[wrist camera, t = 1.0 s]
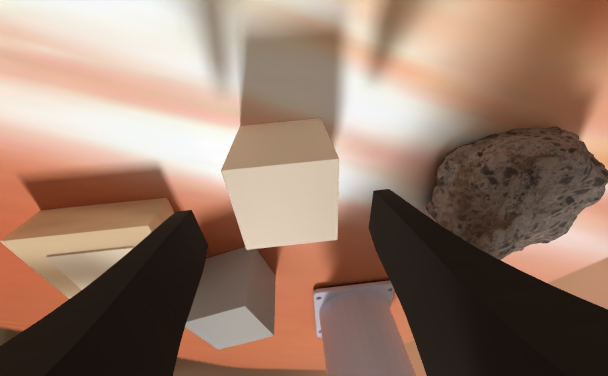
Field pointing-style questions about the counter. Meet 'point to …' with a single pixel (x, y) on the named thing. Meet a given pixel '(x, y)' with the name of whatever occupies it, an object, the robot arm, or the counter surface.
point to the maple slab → (84, 239)
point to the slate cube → (234, 299)
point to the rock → (516, 188)
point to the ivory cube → (283, 183)
